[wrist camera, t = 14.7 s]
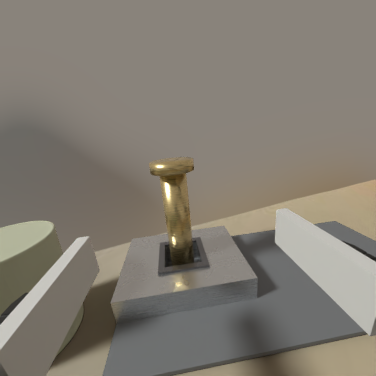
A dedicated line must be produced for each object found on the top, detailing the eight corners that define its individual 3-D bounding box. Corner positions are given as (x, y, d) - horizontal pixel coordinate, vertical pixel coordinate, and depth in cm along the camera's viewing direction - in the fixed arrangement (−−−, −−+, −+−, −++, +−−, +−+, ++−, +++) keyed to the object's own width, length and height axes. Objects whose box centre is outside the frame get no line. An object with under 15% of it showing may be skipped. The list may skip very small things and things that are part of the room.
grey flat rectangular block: (224, 240, 32) (223, 224, 31) (256, 298, 20) (257, 275, 19) (135, 253, 30) (131, 237, 29) (116, 323, 19) (109, 300, 18)
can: (-18, 334, 20) (-74, 243, 16) (75, 285, 26) (49, 209, 22) (-39, 428, 13) (-139, 306, 10) (93, 331, 19) (60, 234, 15)
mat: (334, 223, 35) (335, 220, 35) (497, 306, 18) (499, 302, 18) (136, 252, 32) (136, 250, 31) (101, 390, 14) (99, 386, 14)
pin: (198, 257, 28) (190, 156, 23) (205, 283, 23) (196, 161, 18) (166, 262, 28) (150, 160, 23) (166, 290, 23) (146, 166, 18)
